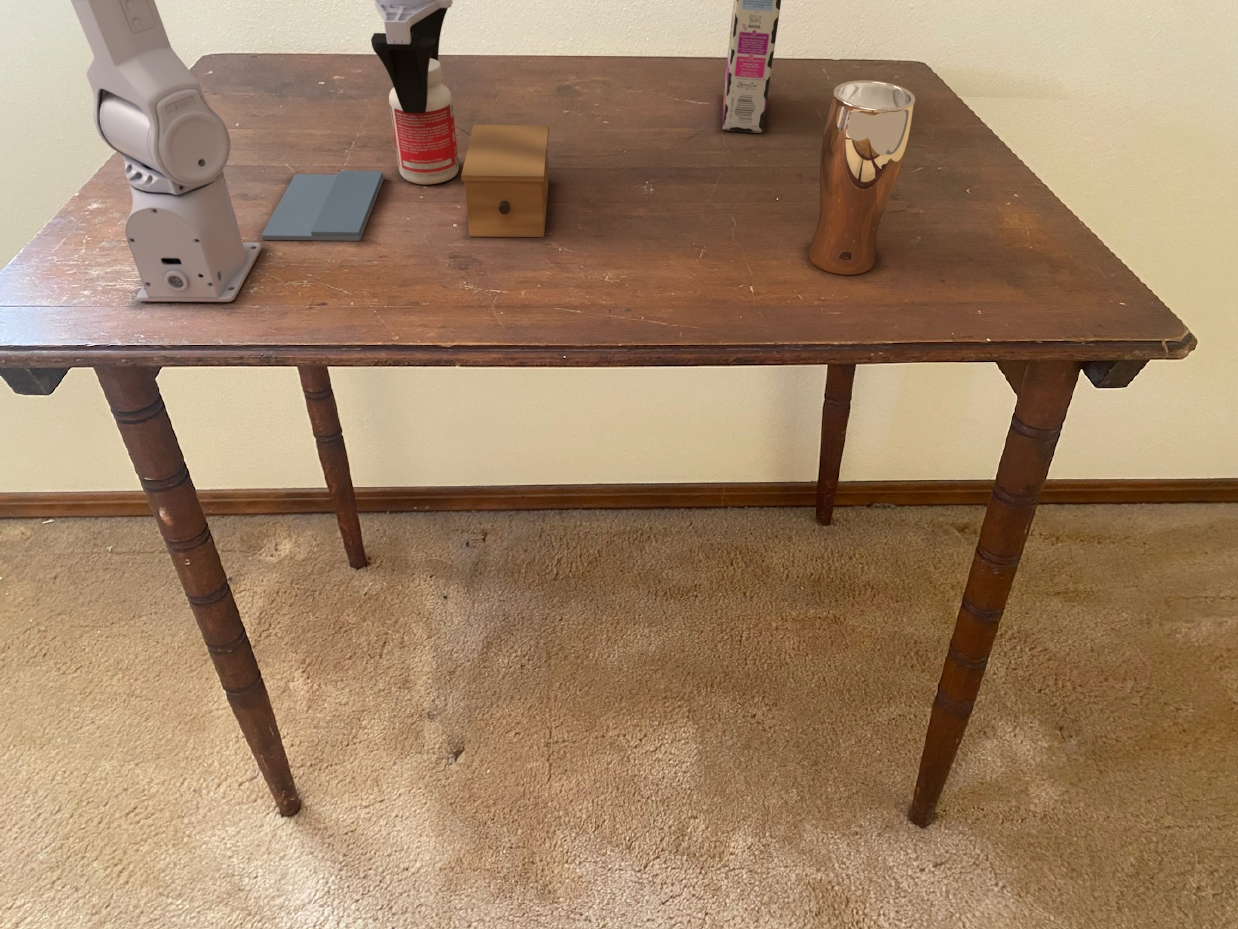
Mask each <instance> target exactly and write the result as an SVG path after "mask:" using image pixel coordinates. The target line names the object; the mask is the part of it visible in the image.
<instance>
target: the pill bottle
mask: <svg viewBox="0 0 1238 929" xmlns="http://www.w3.org/2000/svg"><path fill="white" fill-rule="evenodd" d="M442 80H443V70H442V64H441V62H440V61H439V60H438V61H437V60H435V59H431V58H430V62H429V69H428V96H427V106H426V111H425V113H404V112H403V110H402V108H401V105H400V103H399V100H398V97H397V94H396V91H395V89H394V86H393V87H392V88H391V89H390V92H389V94H388V103H389V104H388V105H389V109H390V118H391V122H392V123H391V124H392V131H393V137H394V145H395V151H396V159H397V164H398V165H397V166H398V171H399V174H400V176H401V177H402V178H403V179H404V180H406V181H407V182H410V183H413V184H416V185H436V184H441V183H445V182H448V181H450V180H452V179H454V177H456V176H457V175H458V173H459V169H460V167H459V166H460V165H459V153H458V152H459V151H458V142H457V134H456V124H455V114H454V113H455V112H454V105H453V104H454V103H453V98H452V97H453V96H452V93H451V90H450V89H449V88H448V86H447V85H445V84H444V83H442V82H441V81H442Z"/></svg>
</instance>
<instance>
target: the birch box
mask: <svg viewBox="0 0 1238 929" xmlns="http://www.w3.org/2000/svg"><path fill="white" fill-rule="evenodd" d="M549 133H550V126H549V125H536V124H535V125H534V124H533V125H527V124H526V125H525V124H473V126H472V129H471V134H470V138H469V142H468V145H467V151H466V155H465V158H464V163H463V166H462V171H461V175H460V178H461V181H462V182H464V192H465V201H466V203H465V204H466V212H467V224H468V233H469V237H476V238H477V237H479V238H480V237H481V238H482V237H483V238H484V237H485V238H486V237H487V238H489V237H490V238H544V237H545V230H546V219H547V207H548V196H549V195H548V193H549V164H548V159H549V158H548V145H549V144H548V143H549Z"/></svg>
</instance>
